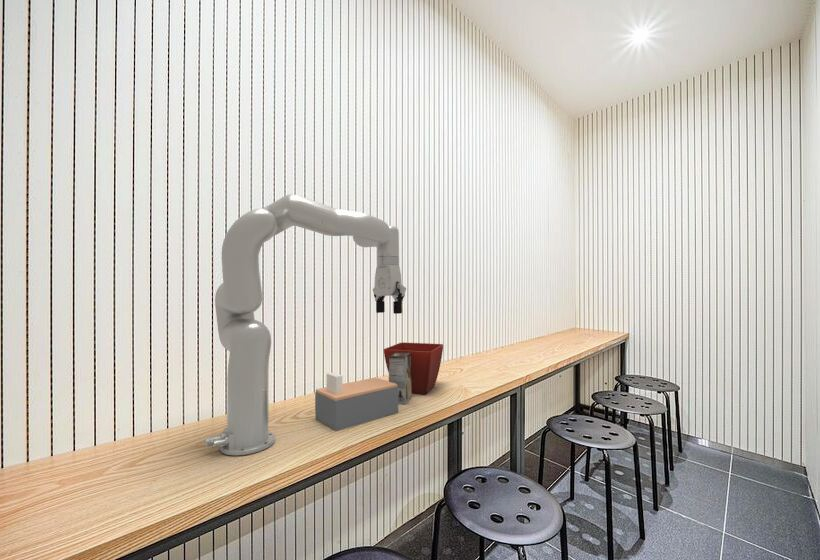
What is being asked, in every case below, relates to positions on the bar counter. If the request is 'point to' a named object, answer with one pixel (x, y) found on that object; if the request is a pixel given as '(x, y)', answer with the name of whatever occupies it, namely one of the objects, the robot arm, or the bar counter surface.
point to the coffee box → (401, 375)
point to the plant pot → (420, 363)
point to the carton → (355, 408)
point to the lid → (352, 387)
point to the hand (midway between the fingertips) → (388, 313)
